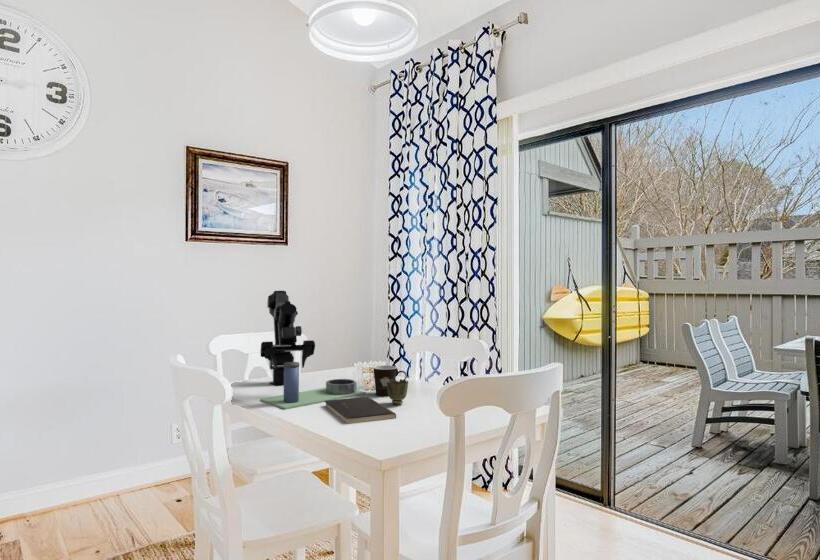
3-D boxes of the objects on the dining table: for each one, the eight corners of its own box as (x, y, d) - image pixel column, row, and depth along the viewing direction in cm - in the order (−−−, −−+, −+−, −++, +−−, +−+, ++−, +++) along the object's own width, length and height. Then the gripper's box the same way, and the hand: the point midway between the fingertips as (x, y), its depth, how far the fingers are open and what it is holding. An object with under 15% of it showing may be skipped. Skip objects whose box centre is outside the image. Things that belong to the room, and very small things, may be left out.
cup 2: (409, 401, 182) (409, 378, 181) (406, 407, 174) (407, 383, 174) (387, 401, 182) (388, 378, 182) (384, 406, 175) (385, 382, 175)
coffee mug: (369, 395, 190) (369, 368, 190) (379, 391, 198) (379, 364, 198) (398, 399, 185) (398, 371, 185) (407, 394, 193) (407, 367, 193)
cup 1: (320, 391, 194) (320, 381, 194) (343, 386, 202) (343, 377, 202) (338, 396, 186) (338, 386, 186) (362, 391, 194) (362, 382, 194)
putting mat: (260, 400, 180) (260, 398, 180) (339, 386, 204) (339, 385, 204) (285, 409, 169) (285, 407, 169) (365, 393, 193) (365, 392, 193)
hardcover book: (346, 425, 154) (346, 418, 154) (324, 407, 174) (324, 400, 174) (396, 420, 161) (396, 412, 161) (369, 403, 181) (369, 396, 181)
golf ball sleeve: (280, 401, 177) (280, 363, 177) (293, 398, 181) (294, 361, 181) (288, 404, 174) (289, 365, 174) (301, 401, 177) (302, 363, 177)
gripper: (261, 318, 183) (263, 354, 173) (314, 318, 190) (319, 352, 179) (259, 338, 191) (261, 374, 180) (310, 337, 197) (315, 371, 187)
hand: (289, 367), depth 181 cm, fingers open, 9 cm apart
